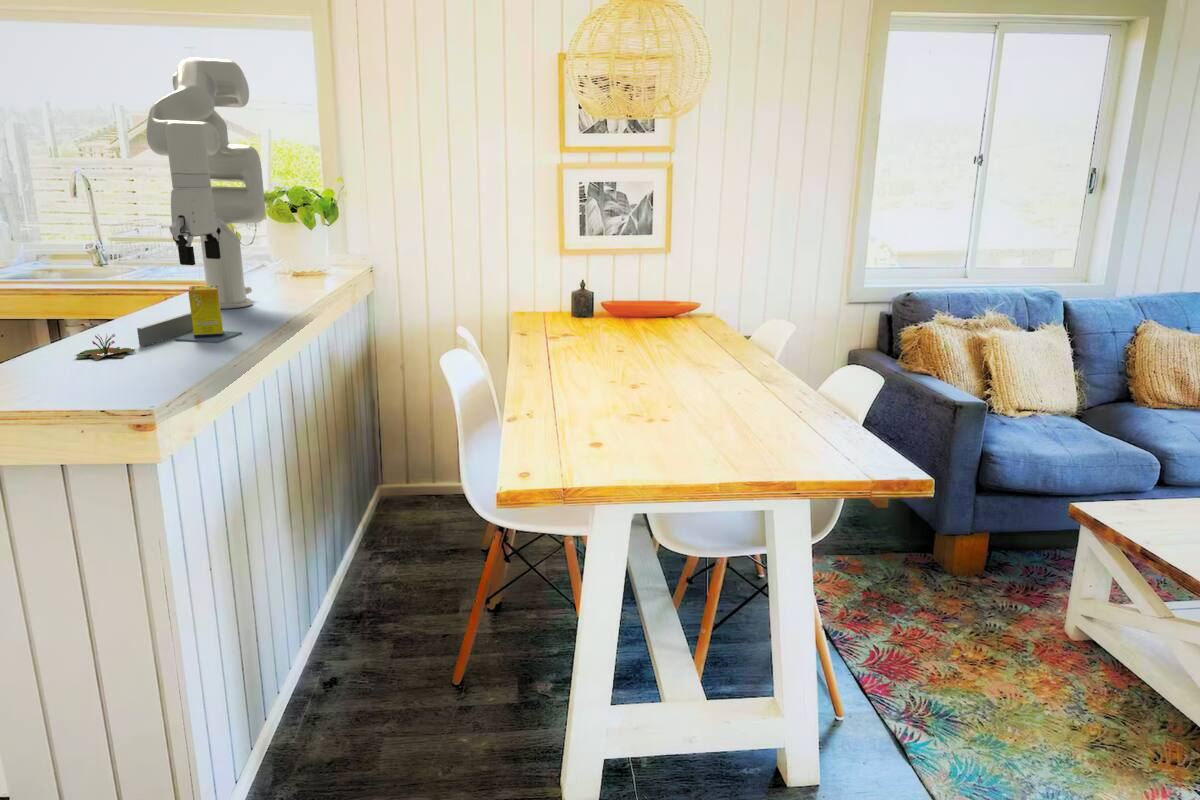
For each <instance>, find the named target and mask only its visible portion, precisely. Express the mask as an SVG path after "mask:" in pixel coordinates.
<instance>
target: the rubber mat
mask: <svg viewBox="0 0 1200 800" xmlns="http://www.w3.org/2000/svg"><path fill="white" fill-rule="evenodd" d="M239 334H240V335H242V334H243V331H229V330H228V331H227V330H223V337H211V338H194V333H193V332H191V333H188V334H185V335H181V336H180V337H176V338H174V341H175V340H180V341H179V342H193V341H200V342H199V343H212V342H216V344H218V343H221V342H223V340H224V341H226V340H229V339H232V338H234V337H237V336H239ZM236 335H237V336H236ZM231 337H232V338H231ZM228 338H229V339H228Z"/></svg>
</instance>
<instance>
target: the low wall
mask: <svg viewBox="0 0 1200 800" xmlns="http://www.w3.org/2000/svg"><path fill="white" fill-rule="evenodd" d="M136 329H137V335H138V344H139V347H140V346H145V347H147V346H146V345H148V346H150V345H149V344H151V345H153V344H152V343H154V344H157V343H159V342H158V341H160V342H162V341H161V340H163V341H165V339H166V340H169V339H172V338H175V337H177V336H176V335H178V336H180V334H181V335H184V334H187V333H190V332H192V331H191V330H193V324H192V316H191V312H187V313H185V314H182V315H177V316H175V317H171V318H168V319H167V318H166V319H165V320H161V321H157V322H154V323H150V324H147V325H143V326H140V327H137V328H136ZM189 331H190V332H189ZM186 332H187V333H186ZM183 333H184V334H183ZM174 336H175V337H174ZM171 337H172V338H171ZM168 338H169V339H168ZM156 342H157V343H156Z"/></svg>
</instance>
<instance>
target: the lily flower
mask: <svg viewBox="0 0 1200 800" xmlns="http://www.w3.org/2000/svg"><path fill="white" fill-rule="evenodd" d="M97 335H98V336H97ZM97 335H94V337H95V338H96V339H98V341H99V344H100V346H99V344H97V343H96V341H94V340H91V342H92V344H93V345H95V346H96V347H98V348H95V349H86V350H84V351H81V352H79V353H76V354H77V355H76V356H77V357H76V358H75V360H80V359H88V358H87V357H89V358H93V359H95V361H98V360H100V359H103V358H105V357H108V356H107V355H109V356H111V355H112V356H113V355H115V356H116V355H117V354H118V353H119V354H118V355H117V356H116V357H115V358H121V359H123V358H124V356H125V353H128V354H131V353H133V354H137V353H136V351H134V350H133V349H132V350H131V348H132V347H123V348H120V346H117V347H111V345H113V344H115V343H116V342H115V340H112V341H111V342H110V340H111V339H112V338H114V337H116V334H115V333H113V334H112V335H111V336H110V337H109V338H108V333H106V334H105V341H104V340H103V338H102V337H101V336H100V335H99V334H97ZM121 352H123V353H121ZM134 352H135V353H134ZM103 353H104V355H103ZM112 353H114V354H112ZM97 354H99V355H97ZM105 354H107V355H105ZM90 356H91V357H90Z"/></svg>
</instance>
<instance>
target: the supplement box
mask: <svg viewBox="0 0 1200 800" xmlns="http://www.w3.org/2000/svg"><path fill="white" fill-rule="evenodd" d="M187 292H188V300H189V306H190V308H189V309H190V313H191V316H192V324H193V331H192V333H194V338H211V337H223V331H224V329H223V320H222V310H221V309H220V301H219V292H218V286H217V285H210V286H206V285H191V286H189V287H188V290H187Z"/></svg>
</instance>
